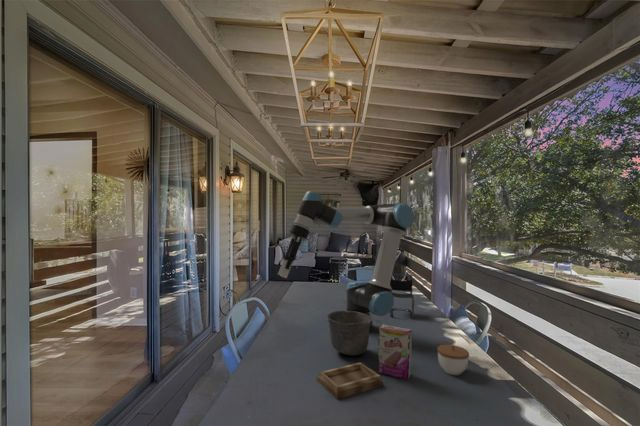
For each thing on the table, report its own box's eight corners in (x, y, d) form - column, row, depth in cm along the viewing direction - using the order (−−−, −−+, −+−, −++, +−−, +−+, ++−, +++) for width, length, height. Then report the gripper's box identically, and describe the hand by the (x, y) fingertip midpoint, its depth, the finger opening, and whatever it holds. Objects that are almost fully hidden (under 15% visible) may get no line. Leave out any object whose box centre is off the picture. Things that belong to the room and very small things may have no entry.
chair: (411, 310, 196) (412, 274, 196) (414, 319, 179) (414, 279, 179) (389, 309, 198) (390, 273, 198) (390, 317, 181) (390, 278, 181)
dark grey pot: (340, 366, 121) (341, 326, 121) (319, 348, 137) (319, 313, 137) (378, 357, 129) (379, 320, 129) (354, 342, 145) (355, 308, 145)
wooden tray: (359, 369, 119) (359, 360, 119) (382, 385, 108) (383, 376, 108) (316, 380, 110) (316, 371, 110) (337, 399, 99) (337, 389, 99)
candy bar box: (377, 373, 116) (378, 327, 116) (380, 367, 121) (381, 323, 121) (408, 380, 112) (409, 333, 112) (411, 374, 116) (412, 328, 116)
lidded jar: (433, 364, 125) (433, 339, 125) (461, 365, 125) (461, 340, 125) (442, 377, 114) (443, 351, 114) (473, 379, 114) (474, 352, 114)
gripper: (290, 226, 145) (271, 271, 141) (296, 220, 121) (274, 274, 117) (305, 233, 146) (287, 278, 142) (314, 227, 122) (293, 281, 118)
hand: (281, 276), depth 129 cm, fingers open, 13 cm apart
